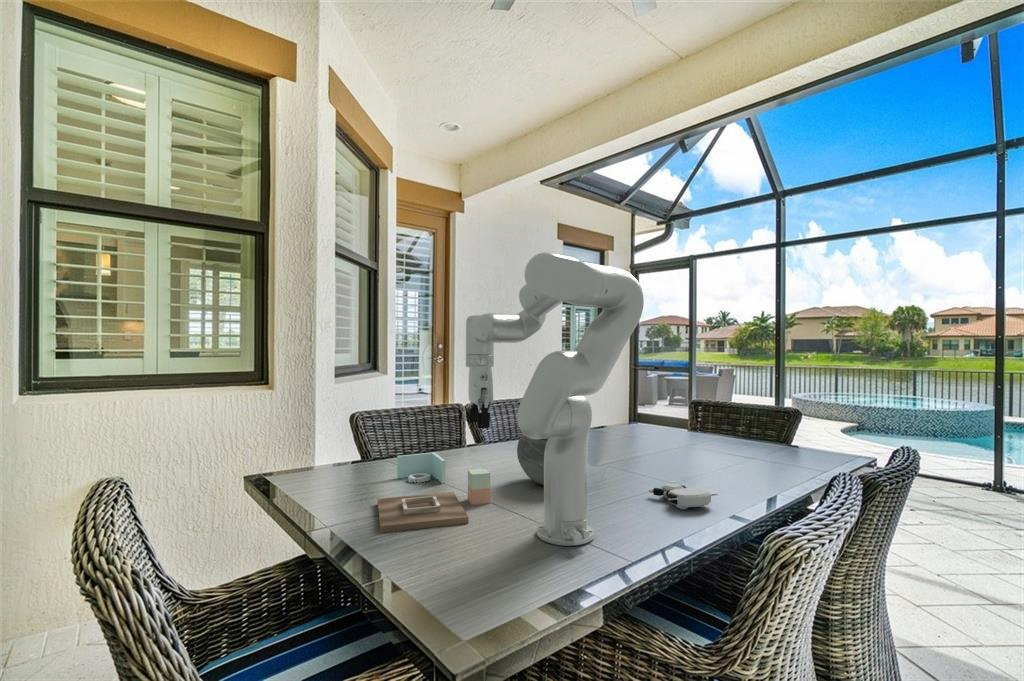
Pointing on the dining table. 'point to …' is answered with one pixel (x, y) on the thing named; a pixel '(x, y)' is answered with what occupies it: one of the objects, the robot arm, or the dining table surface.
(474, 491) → the stack block
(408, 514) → the walnut board
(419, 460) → the right angle wall
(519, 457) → the bowl
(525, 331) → the robot arm
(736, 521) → the dining table surface
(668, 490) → the robot toy
